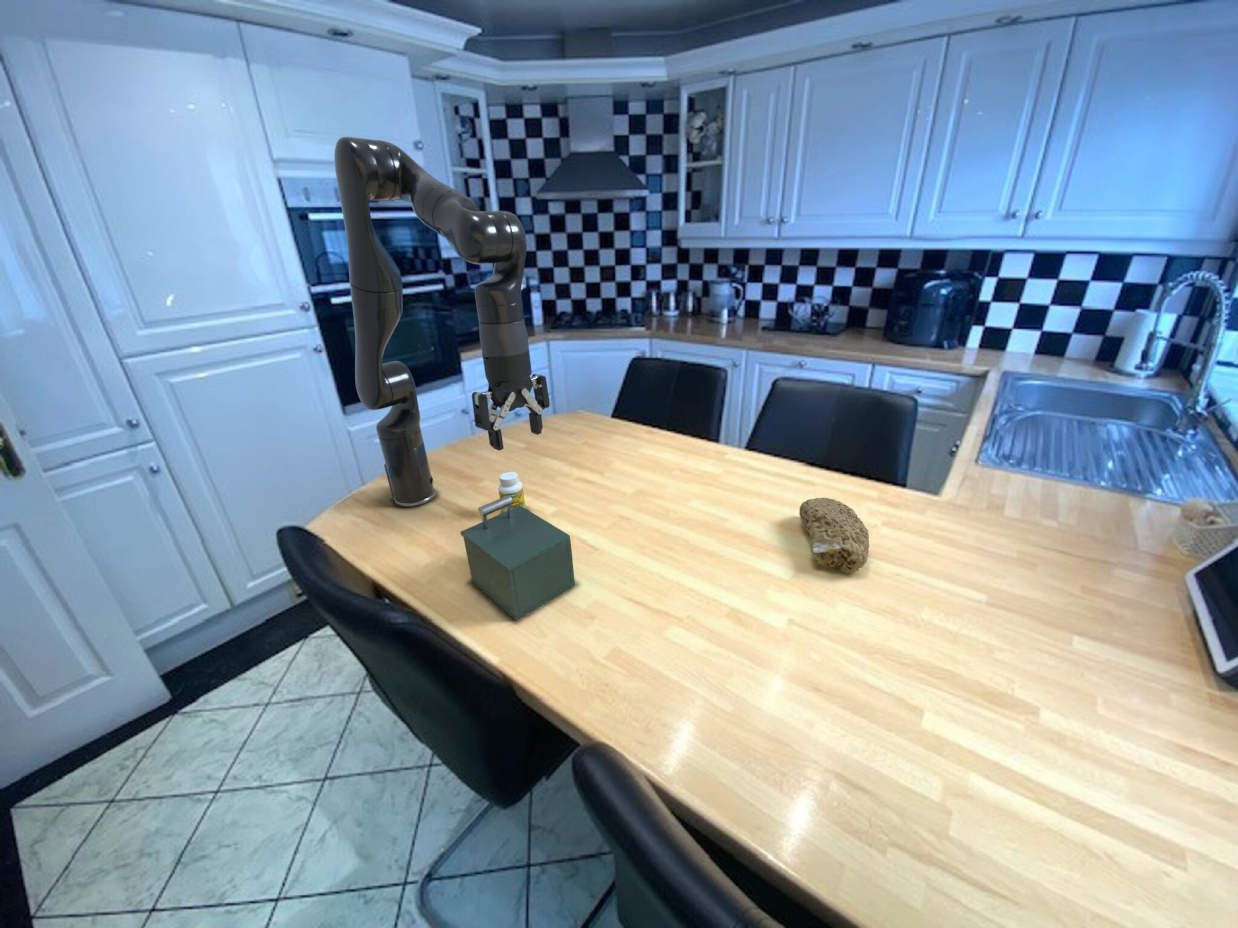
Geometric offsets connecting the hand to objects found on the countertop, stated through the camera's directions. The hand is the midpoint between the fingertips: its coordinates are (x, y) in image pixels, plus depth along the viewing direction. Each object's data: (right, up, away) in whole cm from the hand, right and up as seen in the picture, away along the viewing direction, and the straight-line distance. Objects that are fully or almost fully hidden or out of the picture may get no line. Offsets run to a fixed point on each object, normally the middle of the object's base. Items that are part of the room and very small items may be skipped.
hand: (517, 441), depth 89 cm
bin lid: (0, -17, 0) cm, 17 cm away
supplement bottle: (-6, -15, +27) cm, 31 cm away
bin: (0, -26, +4) cm, 26 cm away
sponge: (+59, -20, +11) cm, 64 cm away
